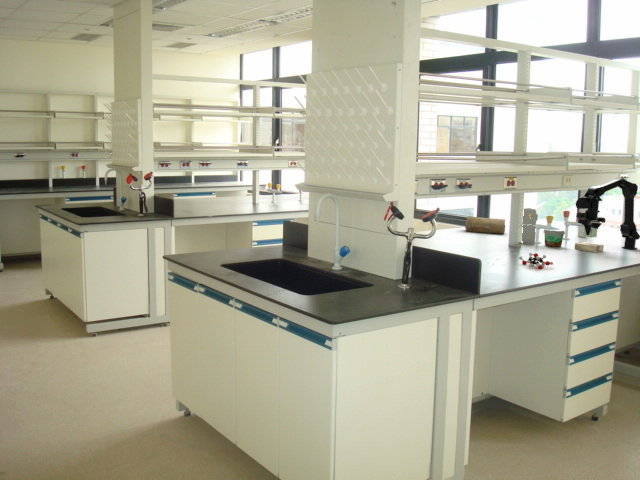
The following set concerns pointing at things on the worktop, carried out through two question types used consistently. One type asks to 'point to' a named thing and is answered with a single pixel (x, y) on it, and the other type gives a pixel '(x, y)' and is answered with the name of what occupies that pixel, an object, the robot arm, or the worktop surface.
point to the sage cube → (591, 233)
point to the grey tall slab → (529, 231)
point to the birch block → (589, 247)
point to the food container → (553, 238)
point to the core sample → (485, 225)
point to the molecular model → (536, 258)
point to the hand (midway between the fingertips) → (590, 234)
